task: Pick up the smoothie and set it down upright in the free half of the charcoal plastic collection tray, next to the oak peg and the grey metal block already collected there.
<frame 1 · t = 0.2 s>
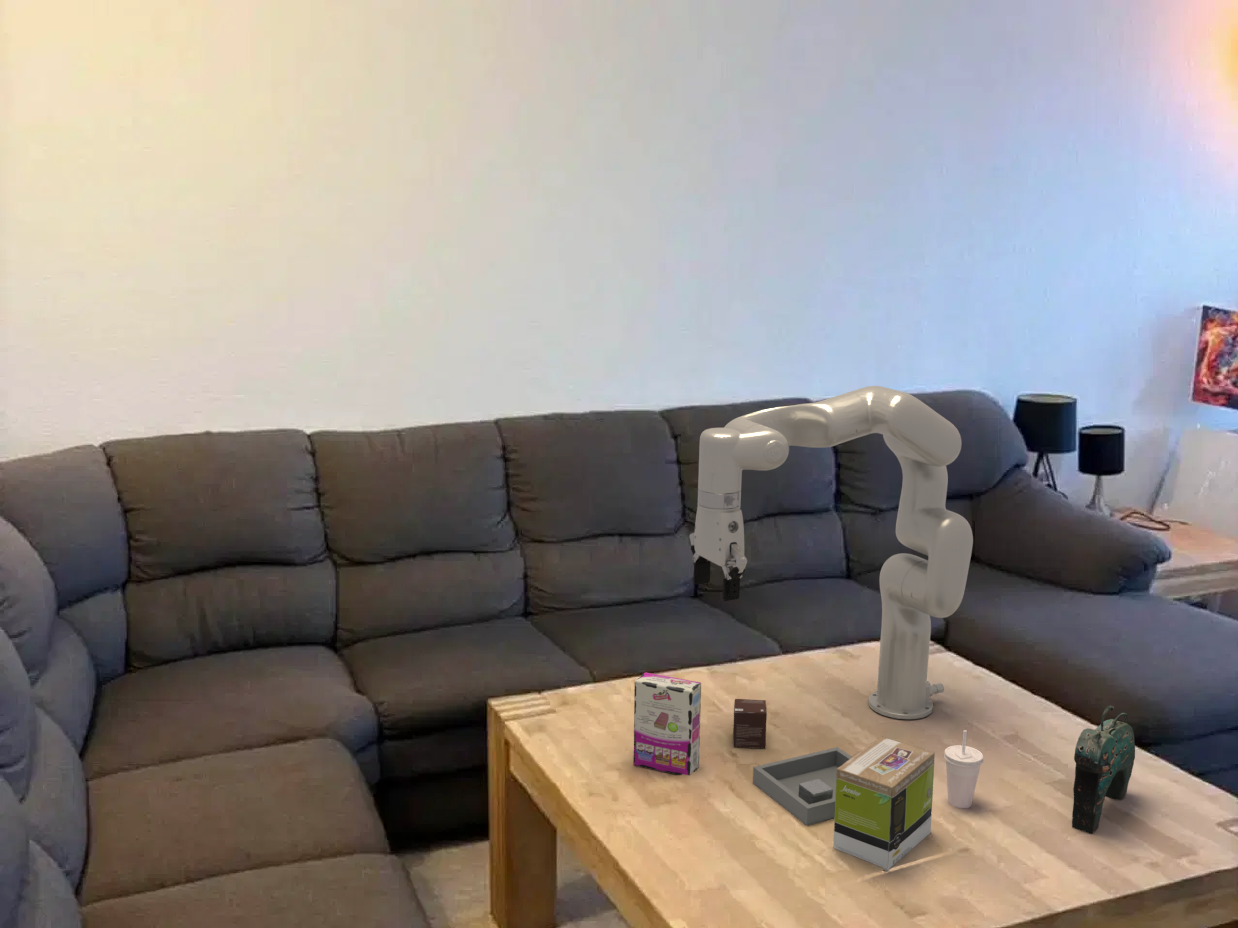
hand: (715, 591, 223), 31 cm above the table, fingers open, 9 cm apart
tea box: (881, 844, 199), on the table
smoothie: (959, 806, 212), on the table
candy bar box: (666, 767, 224), on the table
metal block: (814, 808, 209), point 1 cm above the table, touching tray
tray: (822, 795, 214), on the table
oak peg: (857, 796, 213), point 1 cm above the table, touching tray
green animal figurine: (1097, 812, 210), on the table
box: (749, 742, 234), on the table
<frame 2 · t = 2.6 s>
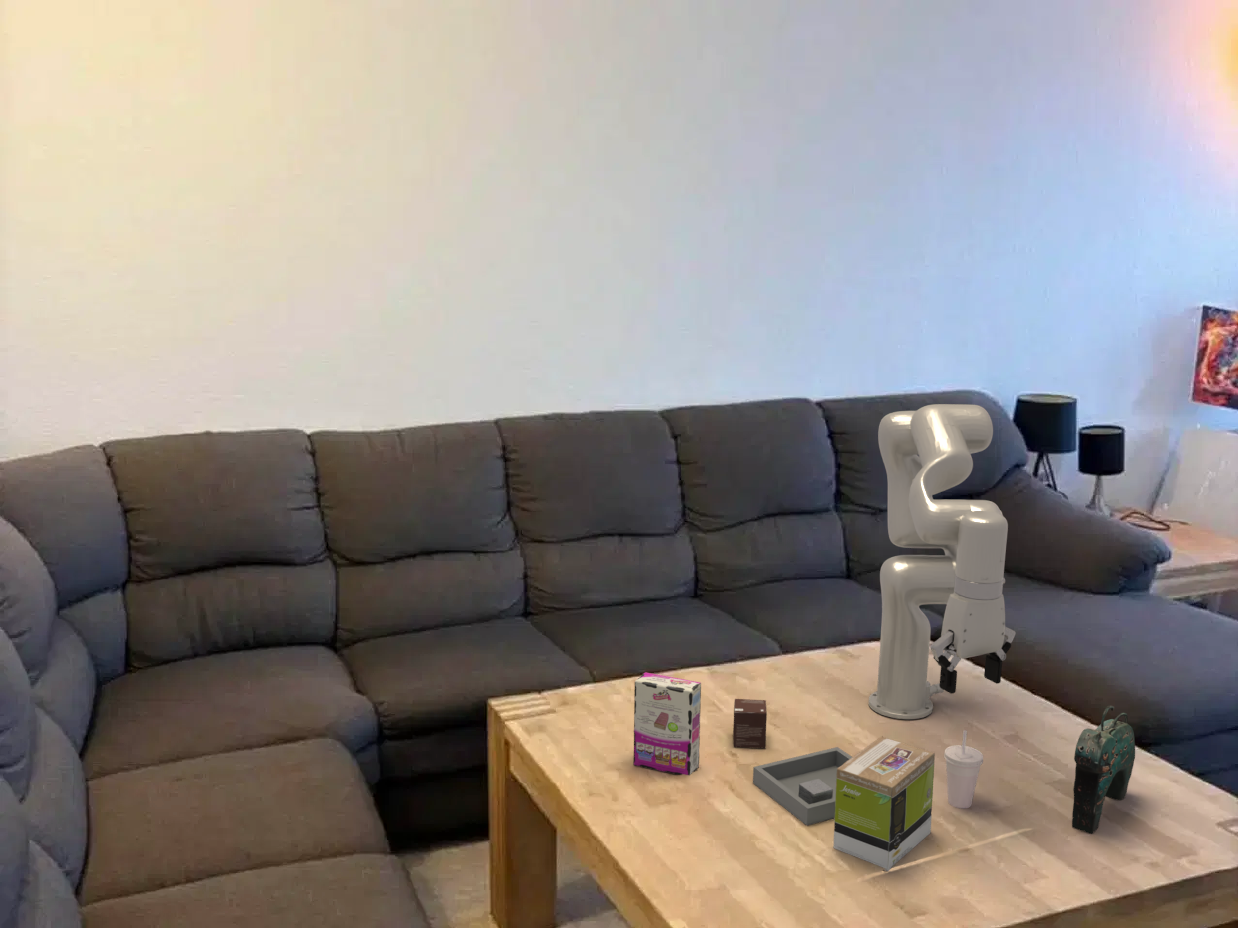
hand: (969, 685, 206), 22 cm above the table, fingers open, 9 cm apart
nothing on the table moved.
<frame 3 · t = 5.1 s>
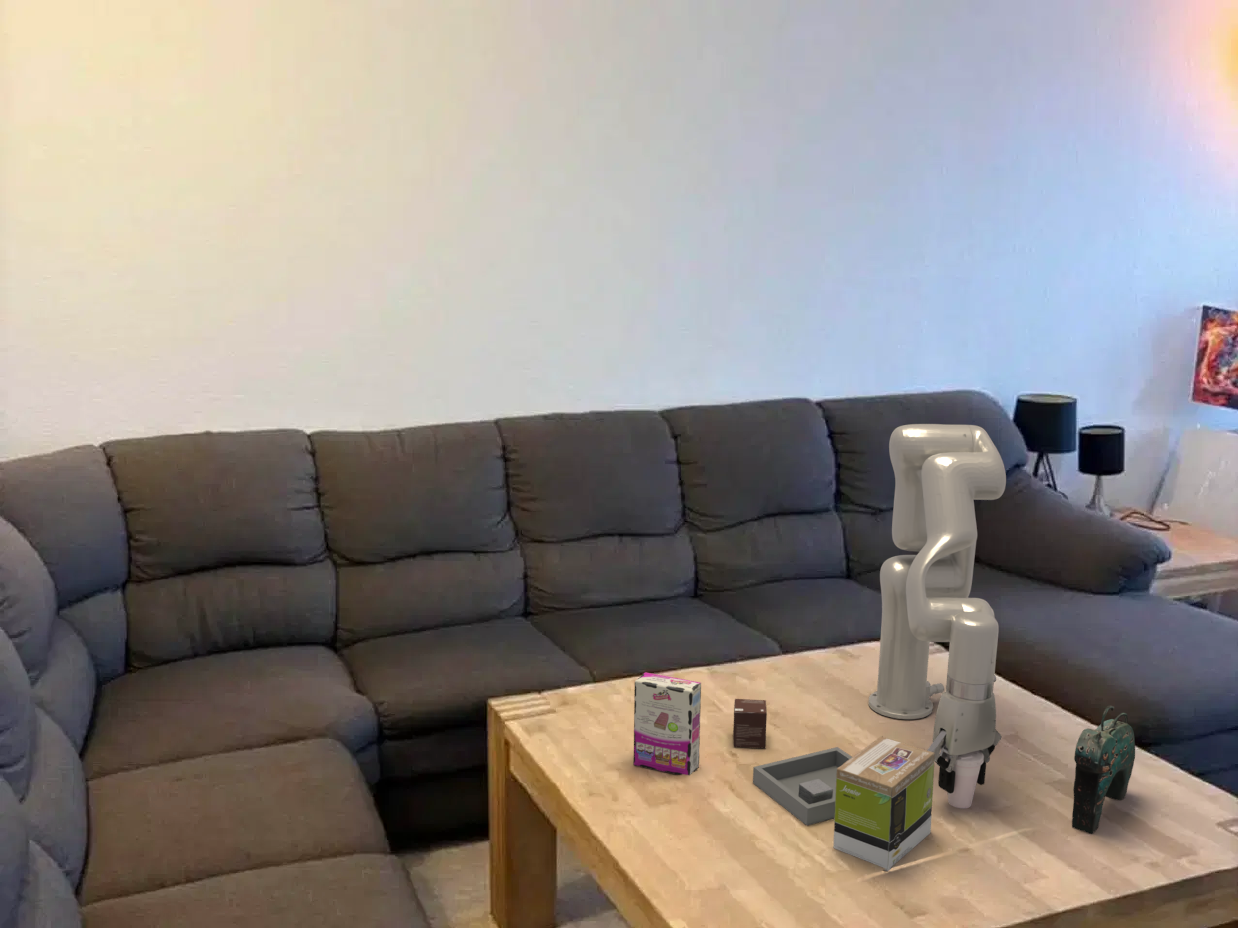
hand: (961, 784, 211), 4 cm above the table, fingers closed on smoothie, 6 cm apart
smoothie: (959, 806, 212), on the table, touching gripper
everything else where it was.
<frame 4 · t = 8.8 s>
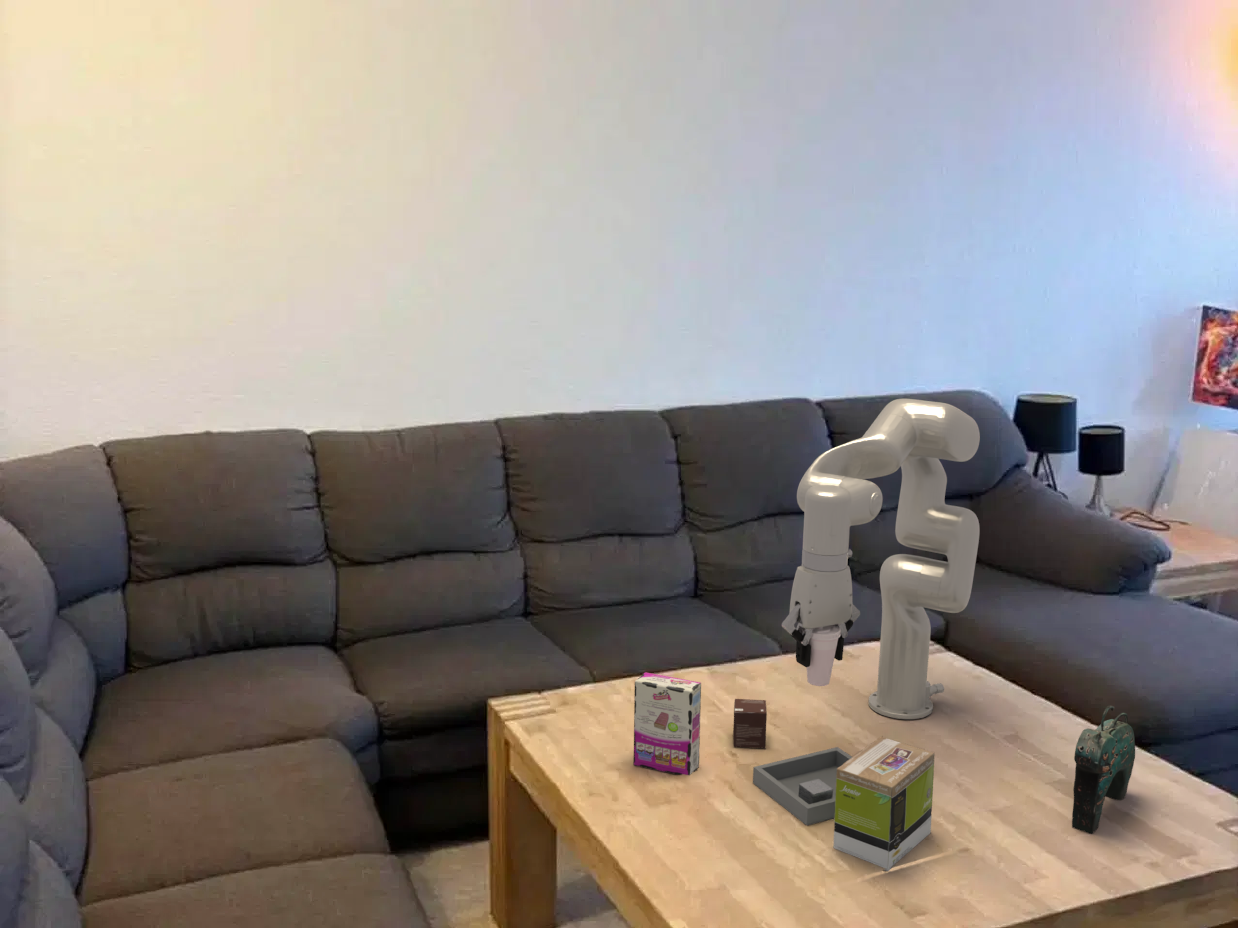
hand: (819, 660, 211), 24 cm above the table, fingers closed on smoothie, 6 cm apart
smoothie: (818, 682, 212), point 20 cm above the table, touching gripper
everything else where it was.
when the fingers open (6 cm above the table, at t = 12.4 s): smoothie drops 1 cm, resting on tray.
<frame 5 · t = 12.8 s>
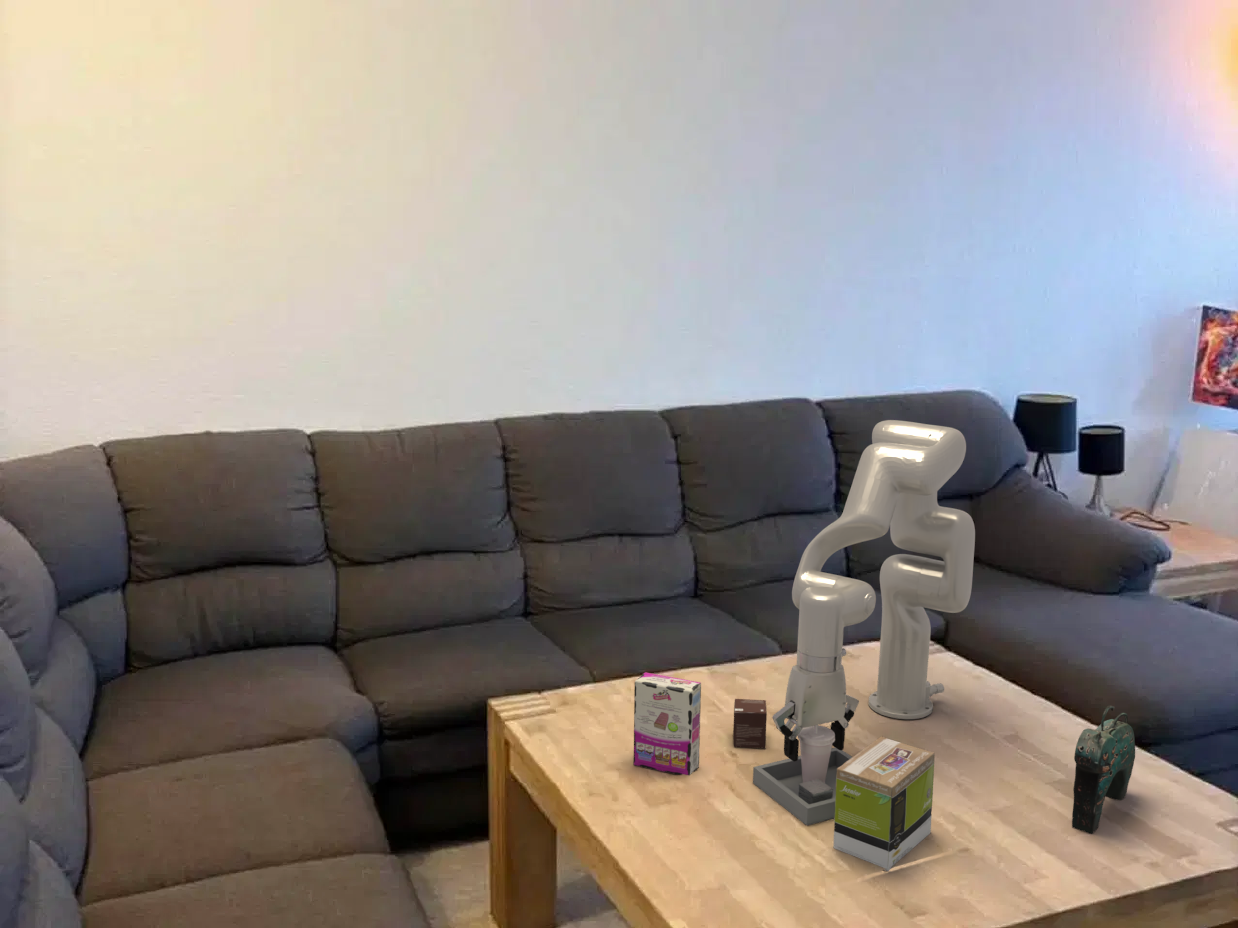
hand: (813, 752, 215), 7 cm above the table, fingers open, 9 cm apart
smoothie: (813, 784, 217), resting on tray
everything else where it was.
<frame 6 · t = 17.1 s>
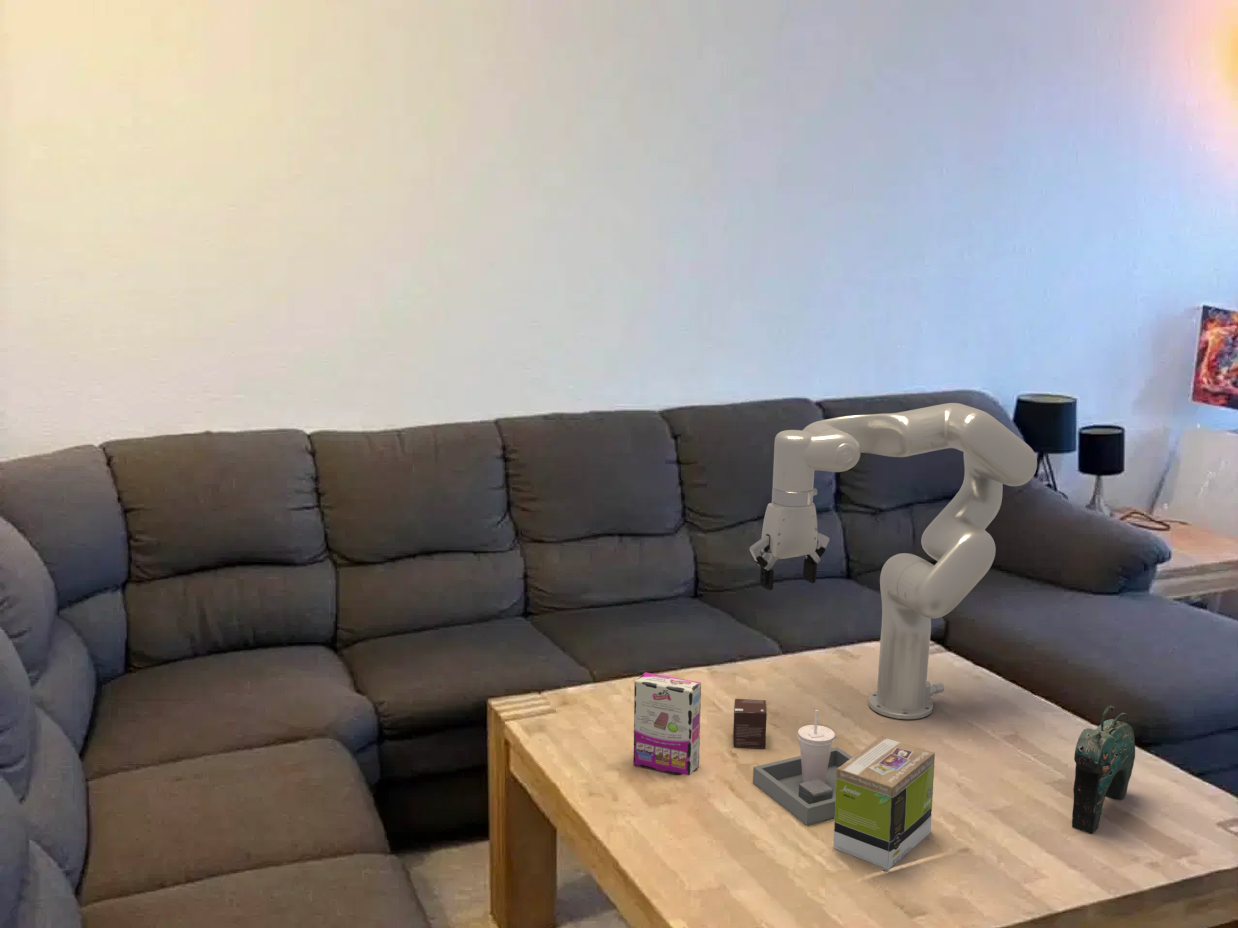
hand: (788, 584, 236), 28 cm above the table, fingers open, 9 cm apart
nothing on the table moved.
at the end: smoothie inside the target area on the tray (3.1 cm from its centre), point 0.4 cm above the tray's base; smoothie tilted 0°; the gripper is holding nothing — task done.
